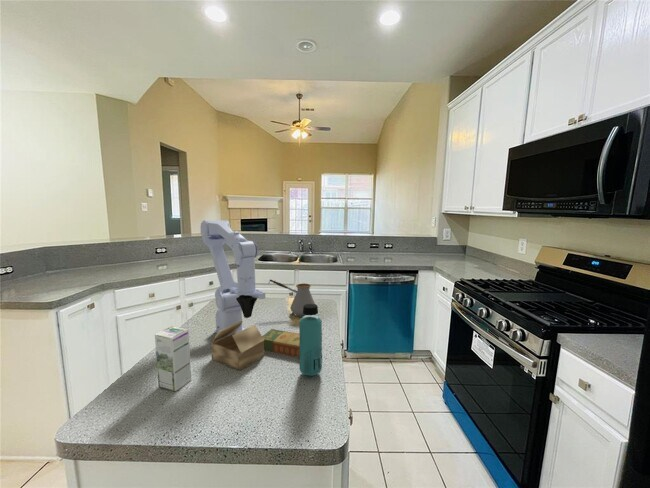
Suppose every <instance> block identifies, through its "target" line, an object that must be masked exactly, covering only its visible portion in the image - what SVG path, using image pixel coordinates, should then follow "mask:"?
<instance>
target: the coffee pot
mask: <svg viewBox="0 0 650 488" xmlns="http://www.w3.org/2000/svg"><path fill="white" fill-rule="evenodd" d="M270 283H273V284H275V285H277V286H279V287H280V288H281V287H282V288H283V289H287V290H290V291H291V292H294V293H296V294H295V295H294V298H293V301H292V302H291V305H290V310H291V312H292V313H293V314H294V315H295V316H297V317H301V318H302V317H304V316H305V314H303V306H304V305H306V304H316V303H315V300H314V297H313V296H312V293H311V291H310V288H311V286H312V285H311V284H309V283H304V282H303V283H299V284H296V286H295V287H296V289H294V288H291V287H289V286H287V285H285V284H283V283H281V282H278V281H276V280H273V279H269V281H268V283H267V284H268V285H269V284H270Z"/></svg>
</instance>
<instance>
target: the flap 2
mask: <svg viewBox="0 0 650 488" xmlns="http://www.w3.org/2000/svg"><path fill="white" fill-rule="evenodd" d="M262 336H263V335H262V334H261V332H260V330H259V328H258V327H257V325H256V324H253V325H251V326H249V327H247V328H246V329H244V330H242V331H240V332H238V333H236V334H234V335H232V337H233V339H234V341H235V343H236V344H237V346H238V348H239V350H240V352H241V353H242V352H244V351H246V350H248V349H250V348H251V347H253V346H255V345H257V344H258V343H260V342H262V341H264V339H263V337H262Z"/></svg>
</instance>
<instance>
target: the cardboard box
mask: <svg viewBox="0 0 650 488" xmlns="http://www.w3.org/2000/svg"><path fill="white" fill-rule="evenodd" d="M236 333H238V332H236ZM236 333H233V334H231V335H229V336H226V337H224V338H222V339H219V340H217V341H215V342H213V343H212V342H211V345H210V346H211V347H210V348H211V360H212V361H214V362H218V363H220V364H223V365H225V366H227V367H229V368H231V369H234V370H237V371H239V372H241V371H242V370H244V369H245V368H248V367H249V366H250V365H252V364H254V363H255V362H256V361H258V360H260V359H262V358H263V357H264V356H265V350H264V341H262V342H260V343H258V344H257V345H255V346H253V347H251V348H250V349H248V350H246V351H244V352H242V353H241V352H240V350H239V348H238V346H237V344H236V343H235V341H234V339H233V337H232V335H234V334H236Z"/></svg>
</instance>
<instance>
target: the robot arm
mask: <svg viewBox="0 0 650 488" xmlns="http://www.w3.org/2000/svg"><path fill="white" fill-rule="evenodd" d="M200 236H201V238H202V241H203V244H204V245H205V246H207V247H208V249H209V252H210V254H211V255H210V256H211V259H212V262H213V266H214V268H215V272H216V275H217V278H218V282H219V287H218V288H217V289H216V290H215V291H214V292H215V293H214V297H215V305H216V307H217V310H216V312H215V330H213V331H214V333H216V334H217V333H218V331H219V330H222V329H224V328H226V327H229V326H231V325H233V324H235V323H238V322H240V321H243V317H244V318H245V319H248V318H251V317H252V314H253V310H254V307H255V304H256V302H257V300H258V299H259V300H264V299H266V292H264V291H261V290H259V289H257V287H256V265H255V264H256V259H255V258H257V256H258V253H259V249H258V244H257V243H256V241H255V240H248V239H246V238H245V237H244V236H243V235H242V234H241V233H240V231H238V230H237V231H233V230H232V229H231V225H230V222H229V220H227V219H224V220H205V219H204V220H202V222H201V223H200ZM225 244H226V245H227V246H228V247H229V248H230V250H231V251H232V254H233V257H234V262H235V265H236V277H237V281H235V280H234V277H233V275H232V271H231V268H230V265H229V262H228V260H227V259H228V258H227V256H226V253H225V250H224V245H225ZM244 329H247V328H246V327H244V326H243V323H242V324H241V325H240V326H239V328H238V329H237V330H236V332H240V331H242V330H244ZM236 332H234V333H236ZM232 334H233V333H232ZM230 335H231V334H230ZM228 336H229V335H228Z"/></svg>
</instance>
